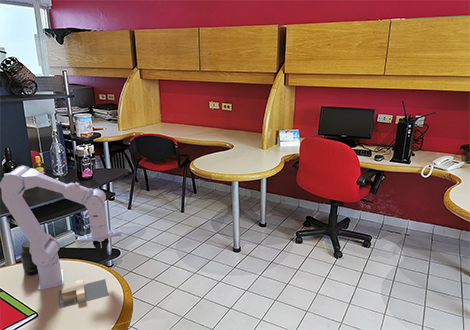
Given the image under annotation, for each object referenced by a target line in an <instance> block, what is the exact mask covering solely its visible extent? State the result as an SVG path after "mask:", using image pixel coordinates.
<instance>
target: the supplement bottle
mask: <svg viewBox="0 0 470 330" xmlns="http://www.w3.org/2000/svg"><path fill="white" fill-rule="evenodd" d="M21 248H22V249H21V252H20V259H21V265H22V268H23V272H24V274H25V276H28V277H29V276H32V277H33V276H35V275H39V274H38V269H37V265H35V264H34V263H33V261H32V255H31V253H30V251H29V250H30V242H29V240H27V241H25V242H24V243H22V244H21Z"/></svg>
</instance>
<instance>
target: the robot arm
mask: <svg viewBox="0 0 470 330" xmlns="http://www.w3.org/2000/svg"><path fill="white" fill-rule="evenodd" d="M34 188H41V189H45V190H49V191H52V192H56V193H59V194H62V196H63V198H64V199H67V200H69V201H72V202H75V203H78V204H80V205H83V206H84V207H85V208H86V210H87V211H88V220H89V227H90V228H89V230H90V233H88V234H85V235H82V236H78V237H77V243H78V245H83V244H84V243H90V242H92V246H93V247H94V248H95V249H96V251H97V252H98V253H99V256H100V259H104V258H106V256H105V255H106V251H107V248H108V245H109V243H110V240H109V238H114V237H119V238H120V237H122V230H121V229H120V228H118V229H108V227H109V226H108V221H107V211H106V204H105V202H106V199H107V195H106V192H104V190H102V189H100V188H91V187H90V188H88V187H86V186H83V185H81V184H80V182H77V181H76V182H75V183H74V182H69V183H65V182H62V181H60V180H58V179H55V178H53V177H50V176H48V175H46V174H43V173H41V172H40V171H38V170H37V169H35V168H32V167H31V168H30V167H29V166H26V165H20V166H19V165H18V166H17V167H16V168H15V169H13V170H12V171H10V172H9V173H8V174H6V175H4V176H3V177H2V178H1V180H0V189H1V201H2V203H3V204H4V205H5V207H6V209H7V211H9V213H10V214H11V216H12V217H13V219H14V221H15V222H16V223H17V225H18V226H19V228H20V230H21V231H22V233H23V234H24V236H25V237H26V239H27V241H29V242H30V250H29V251H30V253H31V255H32V261H33V263H34V264H35V265H37V269H38V274H37V275H38V278H39V280H38V290H39V291H41V290H47V289H50V288H55V287H58V286H59V287H60V286H63V285H64V284H65V283H64V269H62V268H61V262H60V258H59V257H60V256H59V254H58V251H59V250H60V248H61V245H60V242H59V241H58V240H57V239H56V238H54V237H53V236H52V235H51V234H50V233H47V232H45V231H44V228H43V227H42V226H41V224H40V222H39V221H38V219H37V218H36V216H35V215H34V212H33V211H32V210H31V208H30V207H29V205H28V203H27V202H26V200H25V199H24V197H23V195H24V192H25V191H27V190H29V189H34Z"/></svg>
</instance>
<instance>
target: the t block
mask: <svg viewBox="0 0 470 330" xmlns="http://www.w3.org/2000/svg"><path fill="white" fill-rule="evenodd" d="M84 284H85V283H84V279H83V278H82V279H79V280H75V285H72V286H69V287H64V288H61V290H62V298H63V301H64V300H68V299H71V298H75V297H77V300H78V302H79V301H83V300H86V298H85V289H84Z"/></svg>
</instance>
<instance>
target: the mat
mask: <svg viewBox="0 0 470 330" xmlns="http://www.w3.org/2000/svg"><path fill="white" fill-rule="evenodd" d="M107 286H108V285H107V282H106V279H105V278H104V279H100V280H97V281H92V282H87V283H84V289H85V298H86V300H83V301H79V302H78V300H77V297H75V298H71V299H68V300H64V301H63V298H62V289H60V290H58V309H59V310H60V309H63V308H67V307H70V306H75V305H78V304H82V303H86V302H90V301H92V300H97V299H100V298H104V297H108V296H109V291H108V287H107Z"/></svg>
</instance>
